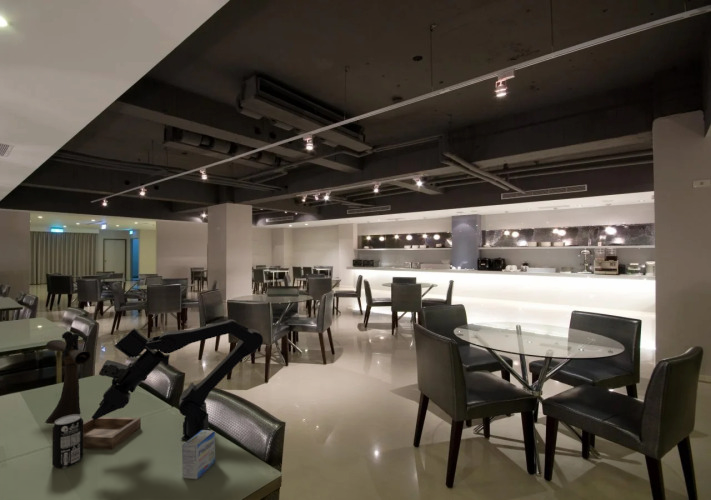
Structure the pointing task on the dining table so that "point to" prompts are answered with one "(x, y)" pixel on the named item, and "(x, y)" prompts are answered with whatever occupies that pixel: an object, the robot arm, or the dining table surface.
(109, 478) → the dining table surface
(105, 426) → the tray
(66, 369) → the flared trumpet-armed statue
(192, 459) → the medicine box
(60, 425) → the beverage can
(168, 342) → the robot arm
